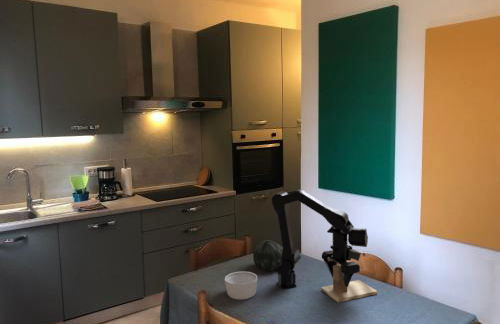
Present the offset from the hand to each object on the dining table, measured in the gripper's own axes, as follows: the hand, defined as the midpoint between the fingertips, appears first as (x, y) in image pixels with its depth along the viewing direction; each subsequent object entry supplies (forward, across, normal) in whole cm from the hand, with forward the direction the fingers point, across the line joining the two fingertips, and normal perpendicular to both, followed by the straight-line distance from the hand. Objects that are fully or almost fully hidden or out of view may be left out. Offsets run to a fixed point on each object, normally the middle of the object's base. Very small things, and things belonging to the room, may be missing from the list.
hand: (340, 282), depth 159 cm
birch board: (+5, 0, -4) cm, 6 cm away
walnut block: (+4, 0, 0) cm, 4 cm away
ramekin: (+5, +16, +36) cm, 40 cm away
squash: (+5, +37, +15) cm, 40 cm away
